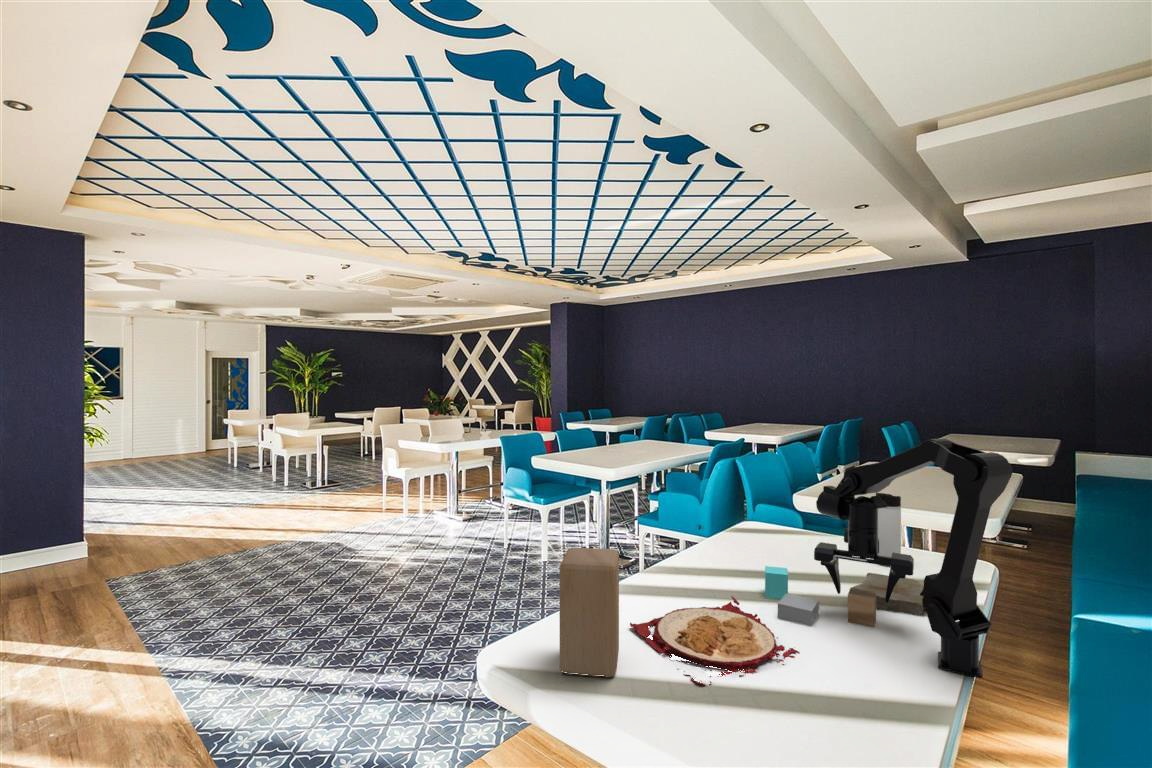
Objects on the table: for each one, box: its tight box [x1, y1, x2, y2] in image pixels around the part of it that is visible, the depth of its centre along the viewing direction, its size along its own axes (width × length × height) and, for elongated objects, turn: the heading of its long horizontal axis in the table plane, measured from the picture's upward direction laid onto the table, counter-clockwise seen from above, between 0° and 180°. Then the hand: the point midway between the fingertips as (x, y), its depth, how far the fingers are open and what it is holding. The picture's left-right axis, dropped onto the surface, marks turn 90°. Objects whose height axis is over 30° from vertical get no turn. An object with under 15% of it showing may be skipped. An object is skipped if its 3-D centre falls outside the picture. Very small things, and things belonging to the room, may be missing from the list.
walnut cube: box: [847, 586, 877, 629], centre depth 121 cm, size 5×5×6 cm
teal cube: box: [764, 565, 789, 600], centre depth 136 cm, size 5×5×6 cm
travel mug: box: [875, 492, 902, 568], centre depth 158 cm, size 6×7×20 cm
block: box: [559, 547, 620, 677], centre depth 103 cm, size 10×10×20 cm
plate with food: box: [629, 595, 800, 686], centre depth 112 cm, size 25×26×4 cm
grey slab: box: [777, 593, 820, 627], centre depth 124 cm, size 7×7×4 cm
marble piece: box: [852, 572, 925, 617], centre depth 133 cm, size 17×15×4 cm
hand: (862, 597), depth 121 cm, fingers open, 9 cm apart
